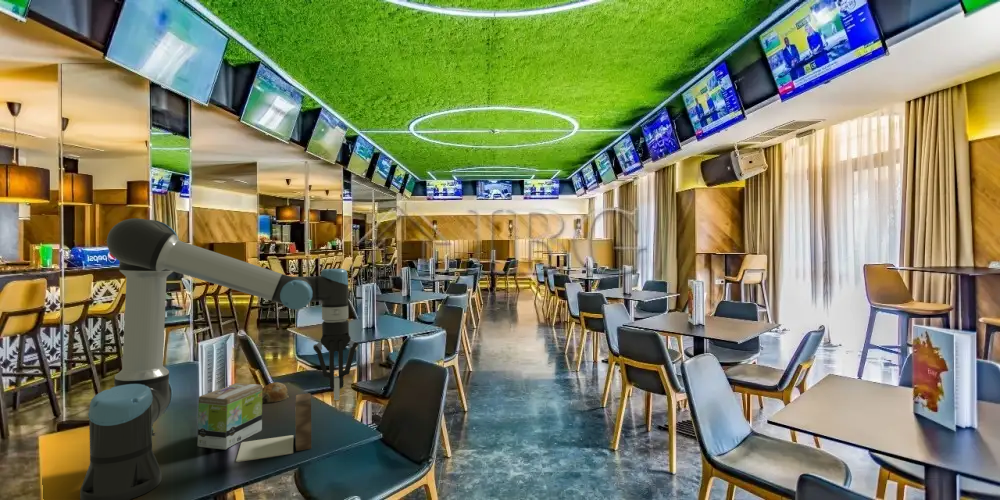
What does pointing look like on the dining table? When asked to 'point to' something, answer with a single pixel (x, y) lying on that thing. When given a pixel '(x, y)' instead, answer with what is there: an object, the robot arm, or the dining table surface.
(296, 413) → the slab
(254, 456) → the mat
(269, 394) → the bread roll
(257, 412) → the tea box
